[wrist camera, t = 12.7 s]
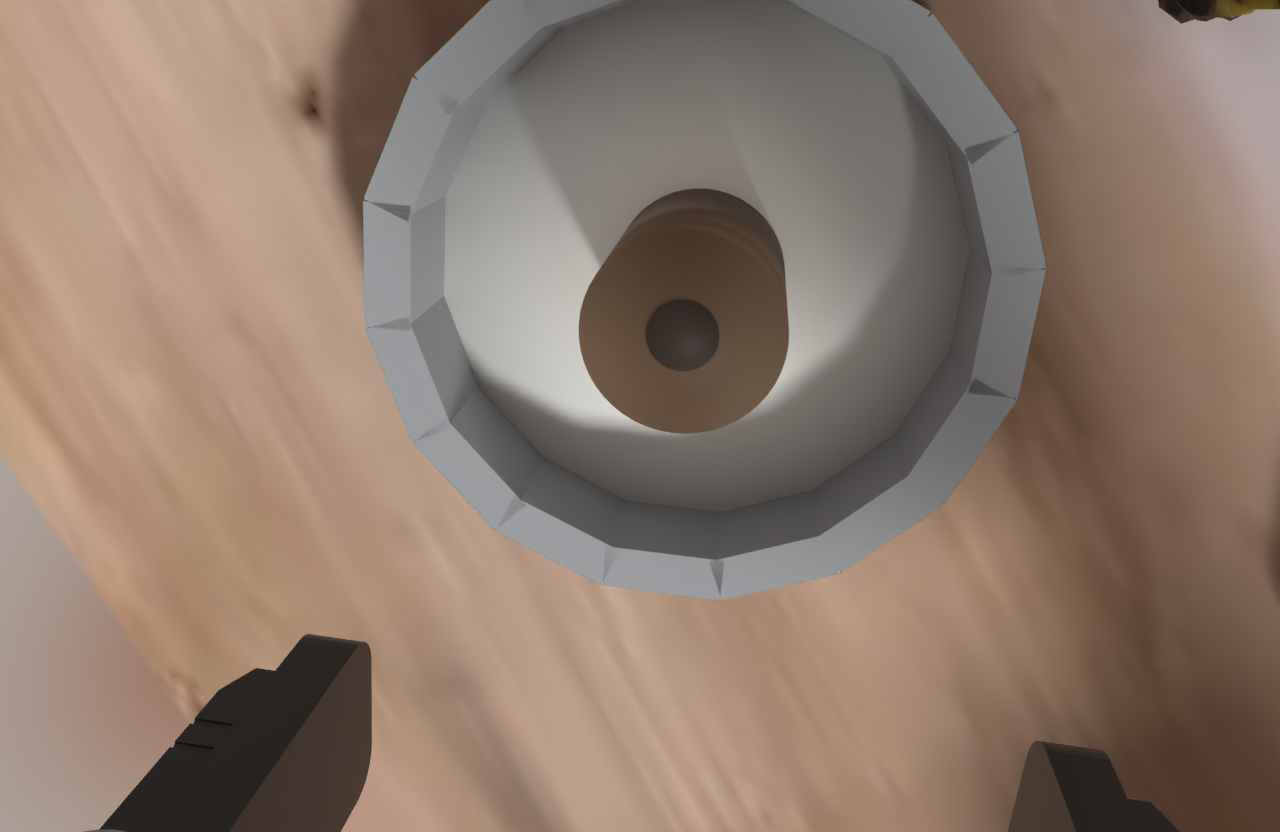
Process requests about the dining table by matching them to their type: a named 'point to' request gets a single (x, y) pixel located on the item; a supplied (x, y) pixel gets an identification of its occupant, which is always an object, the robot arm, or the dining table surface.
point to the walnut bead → (688, 314)
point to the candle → (1213, 8)
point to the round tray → (813, 257)
